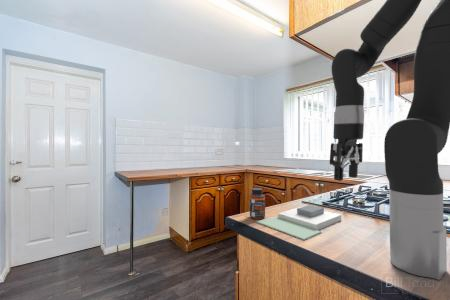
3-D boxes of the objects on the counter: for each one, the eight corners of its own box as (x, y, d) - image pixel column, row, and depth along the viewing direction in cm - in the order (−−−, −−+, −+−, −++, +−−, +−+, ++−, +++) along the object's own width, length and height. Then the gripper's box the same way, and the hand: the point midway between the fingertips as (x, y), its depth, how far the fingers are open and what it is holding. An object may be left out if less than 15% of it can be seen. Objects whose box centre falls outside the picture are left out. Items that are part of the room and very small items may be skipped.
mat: (321, 232, 72) (321, 231, 72) (304, 240, 66) (304, 238, 66) (273, 217, 88) (273, 216, 88) (256, 222, 83) (256, 221, 83)
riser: (341, 220, 83) (341, 214, 83) (316, 230, 73) (315, 224, 73) (303, 210, 96) (303, 205, 96) (278, 218, 86) (277, 213, 86)
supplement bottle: (254, 220, 84) (253, 190, 84) (247, 216, 90) (246, 188, 90) (268, 218, 87) (267, 189, 86) (260, 214, 92) (259, 186, 92)
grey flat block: (323, 213, 85) (323, 208, 85) (311, 217, 80) (311, 212, 80) (309, 209, 90) (309, 204, 90) (297, 213, 85) (297, 208, 85)
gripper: (350, 121, 57) (347, 184, 58) (373, 123, 66) (370, 178, 67) (322, 122, 63) (320, 179, 64) (347, 124, 72) (344, 174, 73)
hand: (345, 178), depth 66 cm, fingers open, 8 cm apart
